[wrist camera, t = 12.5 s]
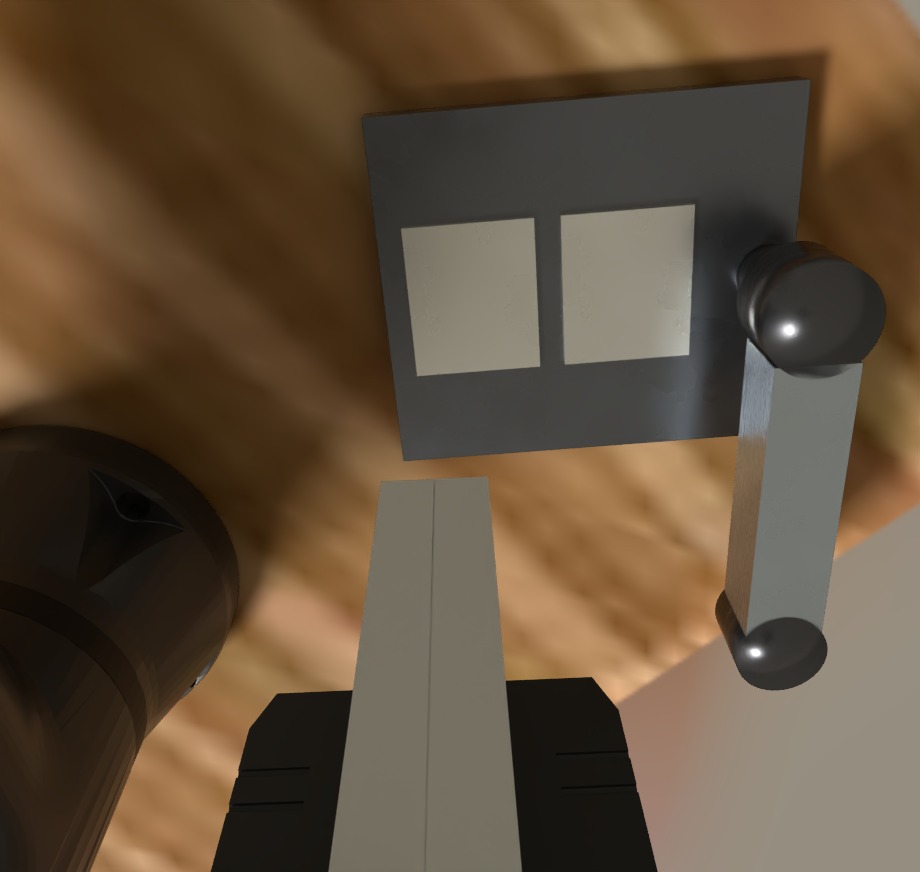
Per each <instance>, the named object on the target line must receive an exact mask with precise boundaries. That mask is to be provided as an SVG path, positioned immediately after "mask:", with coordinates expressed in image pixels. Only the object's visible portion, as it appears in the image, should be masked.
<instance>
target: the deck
mask: <svg viewBox="0 0 920 872" xmlns="http://www.w3.org/2000/svg"><path fill="white" fill-rule="evenodd" d="M810 83H811V79H806V78H802V77H790V78H778V79H767V80H755V81H743V82H732V83H720V84H708V85H697V86H685V87H673V88H662V89H650V90H638V91H626V92H615V93H603V94H591V95H580V96H568V97H556V98H545V99H533V100H521V101H510V102H498V103H486V104H475V105H463V106H451V107H440V108H428V109H416V110H405V111H393V112H381V113H370V114H364V115H363V116H362V126H363V134H364V143H365V151H366V159H367V167H368V175H369V183H370V192H371V200H372V208H373V216H374V224H375V232H376V240H377V249H378V257H379V265H380V273H381V281H382V289H383V298H384V306H385V314H386V322H387V330H388V338H389V346H390V355H391V363H392V371H393V379H394V387H395V395H396V404H397V412H398V420H399V428H400V436H401V444H402V452H403V461H411V460H425V459H438V458H451V457H464V456H477V455H490V454H504V453H517V452H530V451H543V450H556V449H569V448H583V447H596V446H609V445H622V444H635V443H648V442H662V441H675V440H688V439H701V438H714V437H728V436H738V435H739V424H740V413H741V402H742V390H743V379H744V368H745V357H746V346H747V338H751V336H750V335H749V334H748V333H747V332H746V331H745V329H744V328H743V326H742V324H741V322H740V320H739V317H738V313H737V295H738V290H739V287H740V284H741V282H742V280H743V278H744V276H745V274H746V272H747V271H748V270H749V268H750V267H751V266H752V265H753V264H754V262H755V261H756V260H757V259H759V258H760V257H761V256H762V255H763V254H765V253H766V252H768V251H769V250H771V249H773V248H775V247H777V246H780V245H783V244H786V243H790V242H796V234H797V223H798V212H799V201H800V190H801V180H802V169H803V158H804V147H805V137H806V126H807V115H808V104H809V94H810Z"/></svg>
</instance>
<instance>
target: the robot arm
mask: <svg viewBox="0 0 920 872" xmlns="http://www.w3.org/2000/svg"><path fill="white" fill-rule="evenodd" d="M238 595H239V573H238V565H237V560H236V556H235V552H234V549H233V546H232V543H231V541H230V538H229V536H228V534H227V532H226V529H225V528H224V526H223V524H222V522H221V520H220V519H219V517H218V516H217V514H216V513H215V511H214V510H213V508H212V507H211V506H210V504H209V503H208V502H207V500H206V499H205V498H204V497H203V496H202V495H201V494H200V493H199V491H198V490H197V489H196V488H195V487H194V486H193V485H192V484H191V483H190V482H188V481H187V480H186V479H185V478H184V477H183V476H181V475H180V474H179V473H178V472H176V471H175V470H174V469H172V468H171V467H170V466H168V465H167V464H165V463H164V462H162V461H161V460H159V459H158V458H156V457H154V456H153V455H151V454H149V453H147V452H146V451H144V450H142V449H140V448H138V447H136V446H133V445H131V444H129V443H126V442H124V441H122V440H119V439H116V438H113V437H110V436H107V435H104V434H100V433H97V432H92V431H88V430H83V429H77V428H71V427H61V426H27V427H18V428H12V429H6V430H2V431H0V872H90V871H91V868H92V866H93V863H94V861H95V858H96V856H97V853H98V851H99V848H100V846H101V844H102V841H103V839H104V836H105V834H106V831H107V829H108V826H109V824H110V821H111V819H112V816H113V814H114V811H115V809H116V806H117V804H118V802H119V799H120V797H121V794H122V792H123V789H124V787H125V784H126V782H127V779H128V777H129V774H130V772H131V769H132V766H133V764H134V761H135V759H136V756H137V754H138V752H139V749H140V747H141V745H142V742H143V740H144V739H145V738H146V737H147V735H148V734H149V733H150V732H151V731H152V730H153V729H154V728H155V727H156V725H157V724H158V723H159V722H160V721H161V720H162V719H163V718H164V717H165V715H166V714H167V713H168V712H169V711H170V710H171V709H172V708H173V706H174V705H175V704H176V703H177V702H178V701H179V700H180V699H182V698H183V697H184V696H186V695H187V694H188V693H189V692H190V691H191V690H192V689H193V688H194V687H195V686H196V685H197V684H198V683H199V682H200V681H201V680H202V679H203V678H204V677H205V675H206V674H207V673H208V672H209V670H210V669H211V667H212V666H213V664H214V662H215V661H216V659H217V658H218V656H219V654H220V652H221V650H222V648H223V645H224V642H225V640H226V637H227V634H228V631H229V629H230V626H231V623H232V620H233V617H234V614H235V610H236V607H237V602H238ZM238 771H239V775H238V778H236V780H235V784H234V788H233V791H232V795H231V799H230V802H229V813H227V814H226V817H225V821H224V825H223V828H222V832H221V836H220V840H219V843H218V847H217V851H216V854H215V858H214V862H213V865H212V869H211V872H657V867H656V863H655V860H654V855H653V851H652V847H651V843H650V838H649V834H648V830H647V826H646V822H645V818H644V813H643V809H642V805H641V801H640V797H639V793H638V792H637V788H636V780H635V776H634V772H633V768H632V764H631V760H630V758H629V755H628V747H627V743H626V739H625V735H624V731H623V727H622V723H621V718H620V714H619V710H618V709H617V708H616V706H615V705H614V704H613V703H612V701H611V700H610V699H609V698H608V697H607V695H606V694H605V693H604V692H603V690H602V689H601V688H600V687H599V685H598V684H597V683H596V682H595V681H594V679H593V678H592V677H584V678H561V679H538V680H515V681H505V670H504V658H503V647H502V635H501V623H500V612H499V600H498V589H497V577H496V565H495V554H494V542H493V531H492V519H491V507H490V496H489V484H488V477H470V478H448V479H426V480H404V481H382V482H381V487H380V494H379V502H378V509H377V516H376V524H375V531H374V539H373V546H372V553H371V561H370V568H369V576H368V583H367V590H366V598H365V605H364V613H363V620H362V627H361V635H360V642H359V650H358V657H357V664H356V672H355V679H354V687H353V690H350V691H327V692H304V693H280V694H276V696H275V697H274V698H273V700H272V701H271V702H270V703H269V705H268V706H267V707H266V708H265V710H264V711H263V712H262V714H261V715H260V716H259V717H258V719H257V720H256V721H255V722H254V724H253V725H252V726H251V727H250V729H249V732H248V736H247V739H246V743H245V747H244V751H243V754H242V758H241V762H240V765H239V769H238Z"/></svg>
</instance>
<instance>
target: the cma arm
mask: <svg viewBox="0 0 920 872" xmlns="http://www.w3.org/2000/svg"><path fill="white" fill-rule="evenodd" d="M737 313H738V317H739V320H740V322H741V324H742V326H743V328H744V329H745V331H746V332H747V333H748V334H749V335H750V336H751V338H747V346H746V357H745V368H744V379H743V390H742V402H741V413H740V424H739V435H738V446H737V457H736V469H735V480H734V491H733V502H732V513H731V524H730V536H729V547H728V558H727V569H726V580H725V589H724V590H723V592H722V593H721V594H720V596H719V598H718V600H717V603H716V608H715V615H716V619H717V622H718V624H719V626H720V629H721V631H722V633H723V636H724V638H725V640H726V643H727V645H728V647H729V649H730V652H731V654H732V656H733V659H734V661H735V663H736V666H737V668H738V670H739V672H740V674H741V676H742V677H743V678H744V679H745V680H746V681H747V682H748V683H749V684H751V685H753V686H755V687H757V688H760V689H765V690H784V689H789V688H793V687H795V686H798V685H800V684H802V683H804V682H806V681H807V680H809V679H810V678H812V677H813V676H814V675H815V674H816V673H817V672H818V671H819V670H820V668H821V667H822V665H823V664H824V662H825V659H826V656H827V643H826V640H825V638H824V635H823V634H822V628H823V621H824V615H825V608H826V602H827V595H828V588H829V582H830V576H831V569H832V563H833V556H834V550H835V543H836V537H837V530H838V524H839V518H840V511H841V505H842V498H843V492H844V485H845V479H846V472H847V466H848V459H849V453H850V446H851V440H852V433H853V427H854V420H855V414H856V407H857V401H858V394H859V388H860V382H861V375H862V369H863V362H862V360H863V359H864V358H865V357H866V356H867V355H868V354H869V352H870V351H871V350H872V349H873V347H874V346H875V344H876V343H877V341H878V339H879V337H880V335H881V332H882V330H883V327H884V322H885V315H886V306H885V300H884V297H883V294H882V291H881V289H880V288H879V286H878V284H877V283H876V282H875V281H874V279H873V278H871V277H870V276H869V275H868V274H867V273H865V272H863V271H862V270H860V269H859V268H857V267H856V266H854V265H853V264H851V263H850V262H848V261H847V260H845V259H844V258H842V257H841V256H839V255H838V254H836V253H835V252H833V251H832V250H830V249H828V248H827V247H825V246H823V245H821V244H818V243H814V242H808V241H797V242H790V243H786V244H783V245H780V246H777V247H775V248H773V249H771V250H769V251H768V252H766V253H765V254H763V255H762V256H761V257H760V258H759V259H757V260H756V261H755V262H754V264H753V265H752V266H751V267H750V268H749V270H748V271H747V272H746V274H745V276H744V278H743V280H742V282H741V284H740V287H739V290H738V295H737Z"/></svg>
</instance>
